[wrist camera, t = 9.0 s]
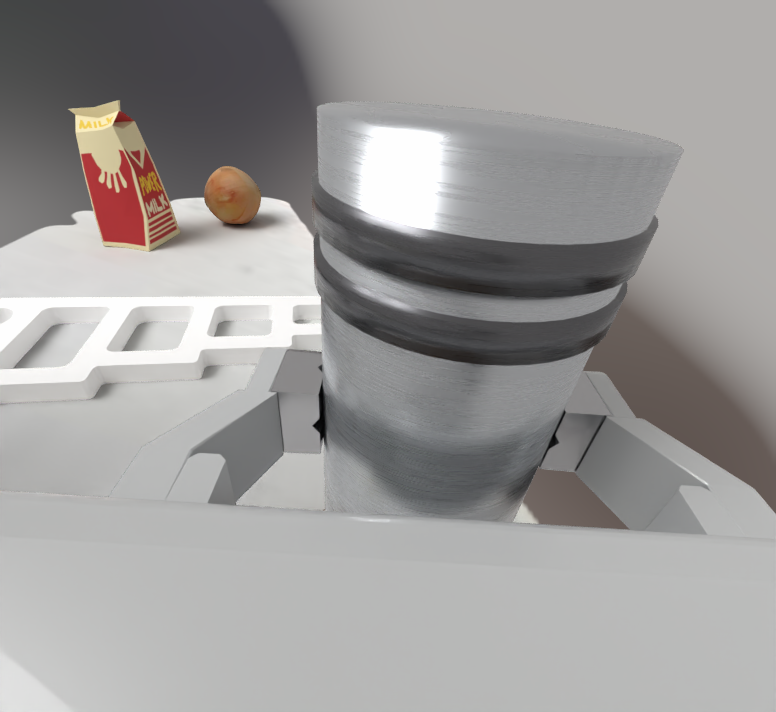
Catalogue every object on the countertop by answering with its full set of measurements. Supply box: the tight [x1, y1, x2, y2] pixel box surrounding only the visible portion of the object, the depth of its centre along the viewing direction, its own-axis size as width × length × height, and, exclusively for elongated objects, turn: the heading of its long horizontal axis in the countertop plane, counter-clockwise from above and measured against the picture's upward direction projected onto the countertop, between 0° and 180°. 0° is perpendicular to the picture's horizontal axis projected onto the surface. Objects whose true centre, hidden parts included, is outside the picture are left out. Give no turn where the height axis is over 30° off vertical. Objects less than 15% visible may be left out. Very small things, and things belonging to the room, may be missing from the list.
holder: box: [0, 296, 322, 404], centre depth 43 cm, size 45×18×3 cm, turn 100°
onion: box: [204, 166, 261, 224], centre depth 74 cm, size 10×10×10 cm
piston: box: [312, 102, 684, 522], centre depth 10 cm, size 5×5×14 cm
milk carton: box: [69, 100, 181, 251], centre depth 62 cm, size 9×9×20 cm
